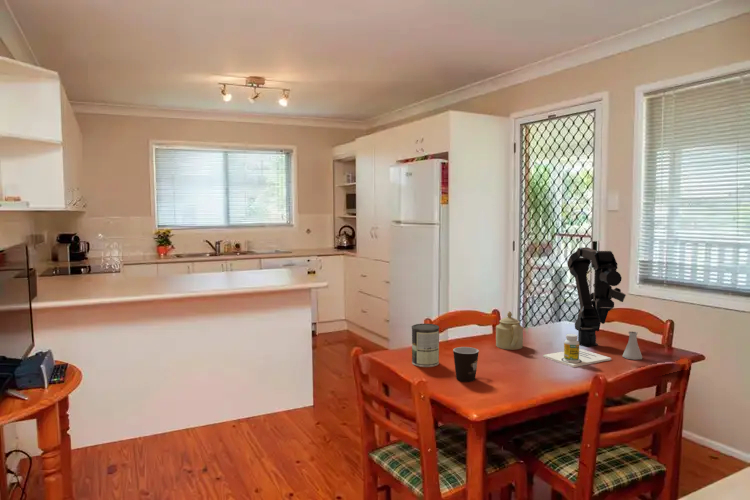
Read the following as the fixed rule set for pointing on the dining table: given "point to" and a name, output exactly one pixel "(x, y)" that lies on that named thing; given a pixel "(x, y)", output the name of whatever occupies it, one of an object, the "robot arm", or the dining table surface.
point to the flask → (632, 348)
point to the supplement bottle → (571, 348)
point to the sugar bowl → (509, 333)
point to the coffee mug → (465, 363)
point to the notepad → (584, 358)
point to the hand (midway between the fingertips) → (601, 321)
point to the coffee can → (425, 345)
